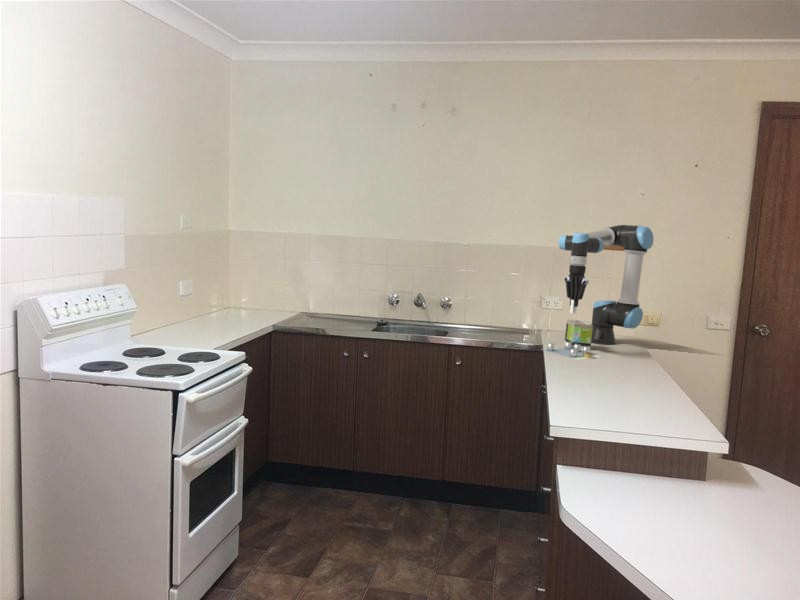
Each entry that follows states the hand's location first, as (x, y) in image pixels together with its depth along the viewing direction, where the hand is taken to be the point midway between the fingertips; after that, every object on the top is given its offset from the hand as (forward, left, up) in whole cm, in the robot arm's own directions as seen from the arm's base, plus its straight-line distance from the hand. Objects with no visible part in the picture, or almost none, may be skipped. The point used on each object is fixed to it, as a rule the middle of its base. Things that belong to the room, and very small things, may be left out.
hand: (573, 313), depth 325 cm
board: (+2, +4, -20) cm, 21 cm away
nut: (+2, +13, -19) cm, 23 cm away
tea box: (-15, -7, -21) cm, 27 cm away
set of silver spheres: (+2, +2, -19) cm, 19 cm away
